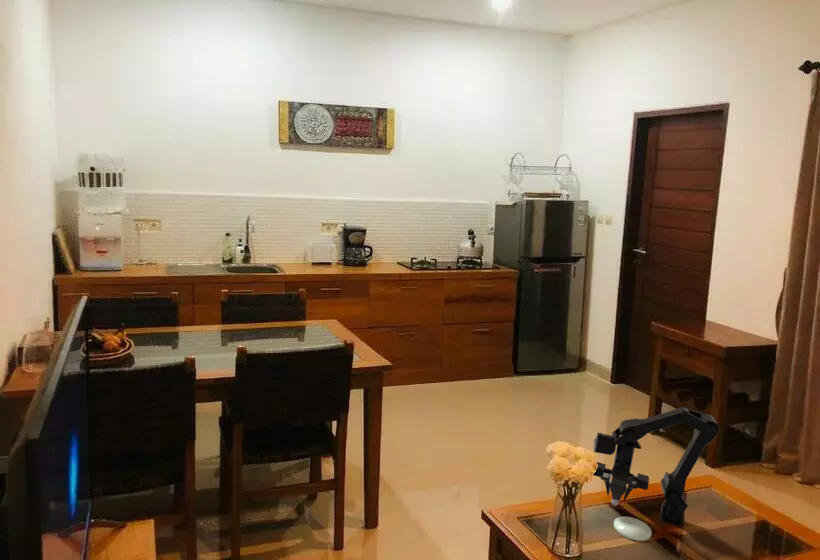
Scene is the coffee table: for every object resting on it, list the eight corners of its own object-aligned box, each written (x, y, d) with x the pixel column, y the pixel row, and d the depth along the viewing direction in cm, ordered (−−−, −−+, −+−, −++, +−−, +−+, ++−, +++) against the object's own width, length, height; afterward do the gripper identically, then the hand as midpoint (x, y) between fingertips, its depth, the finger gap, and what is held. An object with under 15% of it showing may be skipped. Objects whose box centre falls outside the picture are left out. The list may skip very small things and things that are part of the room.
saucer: (652, 526, 222) (652, 523, 222) (650, 545, 211) (650, 542, 211) (615, 515, 226) (616, 512, 226) (611, 533, 216) (612, 530, 215)
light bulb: (623, 511, 228) (628, 485, 226) (607, 507, 229) (612, 481, 227) (622, 502, 233) (627, 477, 231) (605, 499, 234) (610, 473, 232)
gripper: (593, 458, 223) (585, 500, 227) (650, 474, 216) (642, 517, 220) (597, 445, 233) (590, 485, 237) (652, 460, 226) (644, 501, 230)
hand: (616, 497), depth 230 cm, fingers closed on light bulb, 5 cm apart
